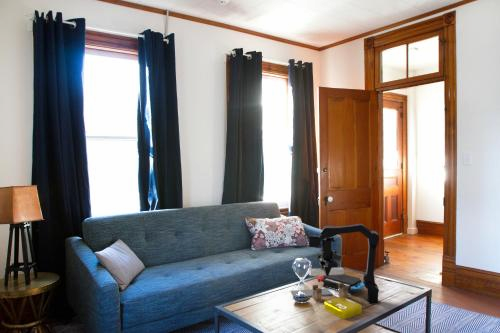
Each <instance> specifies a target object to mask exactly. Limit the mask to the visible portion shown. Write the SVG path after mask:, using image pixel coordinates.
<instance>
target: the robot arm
mask: <svg viewBox="0 0 500 333" xmlns="http://www.w3.org/2000/svg"><path fill="white" fill-rule="evenodd" d="M351 233H360V234H362V235H364V236H365V237H366V238H367V245H368V250H367V260H366V271H365V273H364V272H362V278H361V279H362V283H363V284H364V285H365V287H364V288H365V289H366V291H367V292H366V295H367V296H366V298H364V301H366V302H367V303H368V304H369V305H374V304H375V305H376V304H377V305H378V304H381V301H380V300H379V292H380V289H379V286H378V284H377V283H376V281H375V280H376V279H375V265H376V264H375V263H376V253H377V247H378V245H379V241H380V236H379V233H378V232H377V231H375V230H371V229H370V228H368V227H367V226H365V225H364V224H363V223H358V224H357V223H356V224H350V225H341V226H334V225H324V226H323V228H322V230H321V232H320V234H319V235H310V234H309V240H308V248H315V249H317V248H318V249H319V248H320V247H321V249H320V252H321V253H316V255H315V259H316V260H318V263H319V265H320V268H324V269H325V273H326V276H329V273H330V270H331V268H339V263H338V262H341V260H342V255H341V254H339V253H338V252H337V251H336V250H333V242H336V238H335V236H337V235H343V234H351Z"/></svg>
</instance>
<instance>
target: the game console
mask: <svg viewBox="0 0 500 333" xmlns="http://www.w3.org/2000/svg"><path fill="white" fill-rule="evenodd" d="M316 279H317V282H318V283H320V282H322V283H323V287H326V288H329V287H330V288H329V289H332V288H335V289H334V290H336V289H339V283H344V286H348V295H349V294H350V295H354V294H356V293H357V292H359V291H361V290H362V289H363V288H365V285H364V284H363V280H362V279H363V278H361V277H357V276H352V275H349V274H345V273H344V274H339V275H329V276H326V275H321V276H316Z"/></svg>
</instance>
